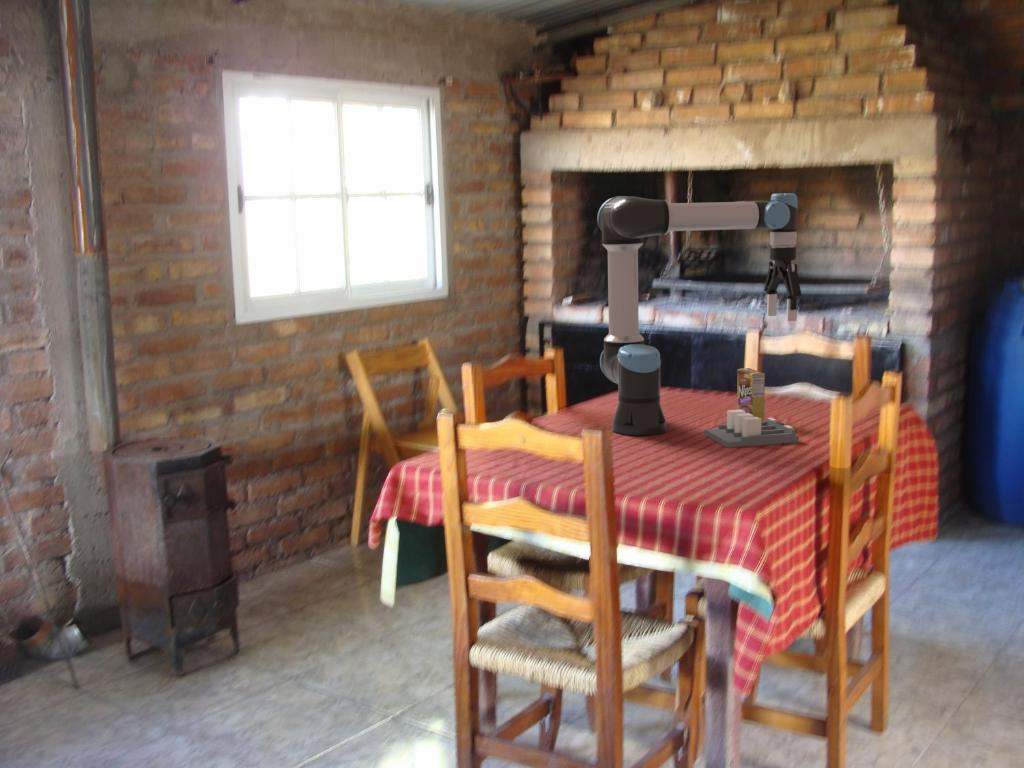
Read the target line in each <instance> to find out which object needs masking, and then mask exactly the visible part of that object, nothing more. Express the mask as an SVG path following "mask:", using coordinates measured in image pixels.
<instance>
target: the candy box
mask: <svg viewBox="0 0 1024 768" xmlns="http://www.w3.org/2000/svg"><path fill="white" fill-rule="evenodd" d="M736 372H737V374H736V376H737V388H736V389H737V403H736V404H737V410H740V409H741V410H743V411H745V412H746V413H750V414H752V415H753V417H758V418H760V419H761V422H765V393H766V392H765V386H766V385H765V384H766V383H765V378H766V377H765V375H766V374H765V372H761V371H759V370H755V369H754V368H753V369H752V368H749V367H746V368H739V369H737V371H736Z"/></svg>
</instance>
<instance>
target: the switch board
mask: <svg viewBox="0 0 1024 768" xmlns="http://www.w3.org/2000/svg"><path fill="white" fill-rule="evenodd" d="M704 436H706V437H708V438H710V439H711V440H713V441H715V442H717V443H719V444H721V445H722V446H724V447H726V448H728V449H729V448H740V447H754V446H769V445H770V444H771V445H779V444H780V445H781V444H782V443H784V444H795V443H799V441H800V439H799V438H800V437H799V436H798V435H796V429H795V428H793V426H791V425H788V424H787V425H786V424H785V423H784V422H783V421H779V420H778V421H777V419H775V418H773V417H765V421H764V422H761V435H756V436H742V432H735V428H727V424H725V423H723V424H718V425H717V427H716V428H704ZM782 445H783V444H782Z"/></svg>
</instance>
